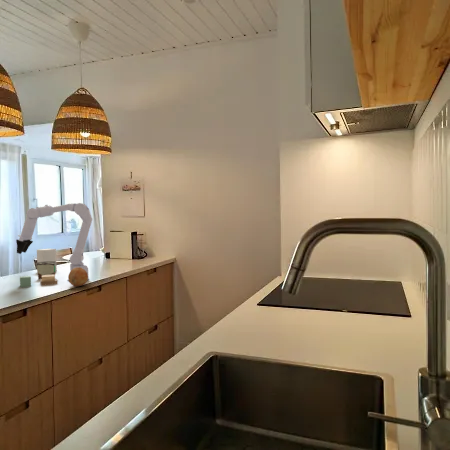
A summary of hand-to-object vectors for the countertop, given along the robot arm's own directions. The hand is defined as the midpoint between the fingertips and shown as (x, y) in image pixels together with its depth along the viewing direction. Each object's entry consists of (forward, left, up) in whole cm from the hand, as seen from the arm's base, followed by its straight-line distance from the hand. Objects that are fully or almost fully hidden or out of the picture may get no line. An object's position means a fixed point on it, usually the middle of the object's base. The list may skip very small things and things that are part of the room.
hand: (21, 252), depth 217 cm
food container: (-2, -17, -17) cm, 24 cm away
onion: (-38, -3, -17) cm, 42 cm away
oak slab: (-16, -4, -15) cm, 22 cm away
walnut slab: (-16, -4, -18) cm, 24 cm away
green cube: (-9, +5, -17) cm, 20 cm away
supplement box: (+22, -38, -17) cm, 47 cm away
